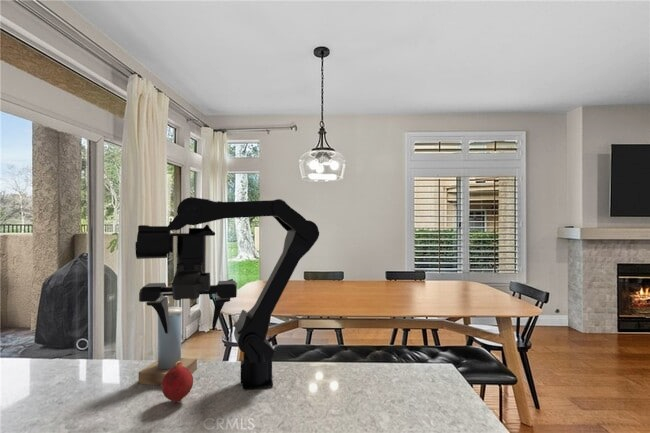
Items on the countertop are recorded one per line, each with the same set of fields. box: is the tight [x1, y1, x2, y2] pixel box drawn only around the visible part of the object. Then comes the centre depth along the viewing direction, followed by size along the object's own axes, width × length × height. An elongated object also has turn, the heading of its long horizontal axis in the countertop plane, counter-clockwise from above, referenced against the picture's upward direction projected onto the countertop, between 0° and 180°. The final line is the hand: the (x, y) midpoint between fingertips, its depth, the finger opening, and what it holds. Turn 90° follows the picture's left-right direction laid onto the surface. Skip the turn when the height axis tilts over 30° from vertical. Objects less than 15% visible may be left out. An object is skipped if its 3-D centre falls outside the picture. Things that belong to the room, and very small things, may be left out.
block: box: [138, 357, 198, 386], centre depth 81 cm, size 9×9×2 cm
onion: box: [161, 361, 194, 403], centre depth 70 cm, size 6×6×8 cm
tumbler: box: [156, 306, 183, 370], centre depth 81 cm, size 5×5×13 cm
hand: (190, 331), depth 73 cm, fingers open, 9 cm apart
